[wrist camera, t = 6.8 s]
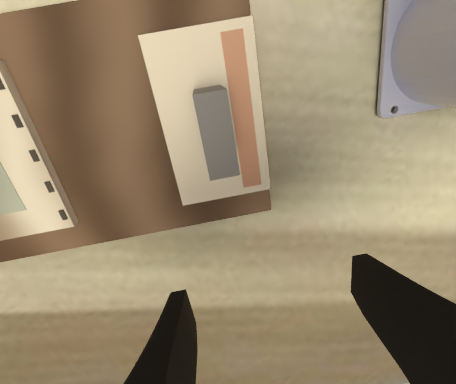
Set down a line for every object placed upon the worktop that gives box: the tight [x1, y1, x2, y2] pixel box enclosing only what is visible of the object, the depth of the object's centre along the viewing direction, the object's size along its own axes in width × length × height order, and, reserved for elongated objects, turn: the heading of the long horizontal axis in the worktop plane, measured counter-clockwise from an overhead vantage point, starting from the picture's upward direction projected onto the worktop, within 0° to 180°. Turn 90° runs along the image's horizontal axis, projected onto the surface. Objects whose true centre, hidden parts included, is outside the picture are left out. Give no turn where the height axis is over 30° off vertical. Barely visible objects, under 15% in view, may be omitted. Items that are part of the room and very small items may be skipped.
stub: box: [138, 15, 271, 206], centre depth 14 cm, size 6×10×4 cm, turn 9°
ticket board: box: [0, 0, 271, 262], centre depth 16 cm, size 22×14×2 cm, turn 99°
